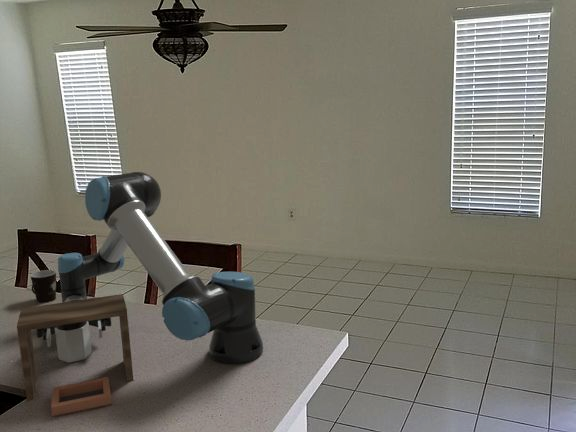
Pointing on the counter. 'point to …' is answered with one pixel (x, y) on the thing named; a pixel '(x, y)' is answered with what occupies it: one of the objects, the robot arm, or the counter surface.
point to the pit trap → (80, 396)
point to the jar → (73, 341)
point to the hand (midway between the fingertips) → (74, 337)
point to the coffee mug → (44, 285)
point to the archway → (68, 315)
